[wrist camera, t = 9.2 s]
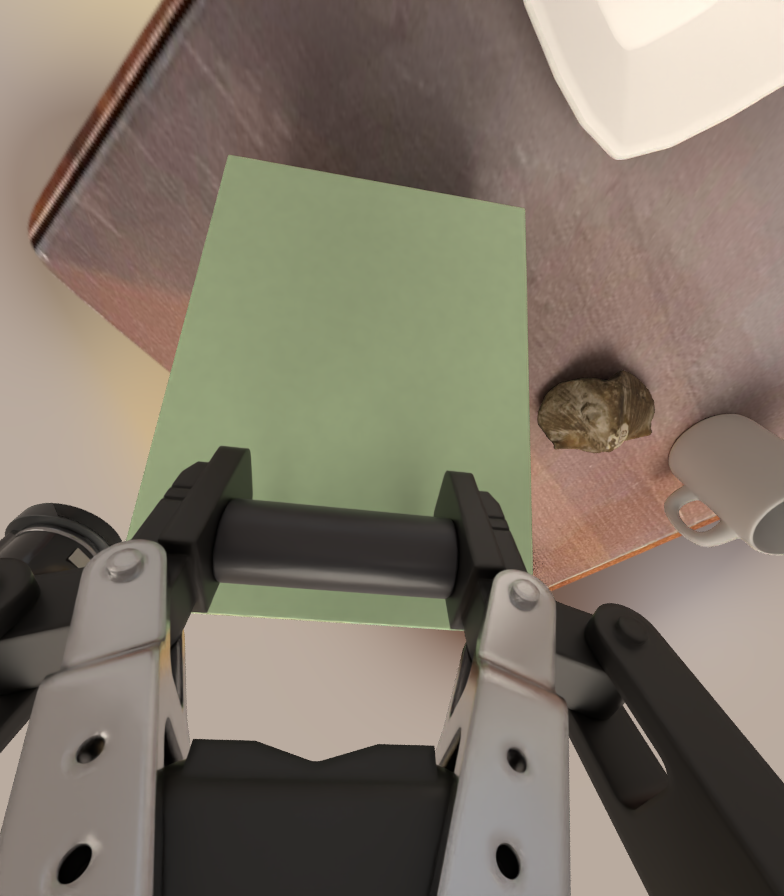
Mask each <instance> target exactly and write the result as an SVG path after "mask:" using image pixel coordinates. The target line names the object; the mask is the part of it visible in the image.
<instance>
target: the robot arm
mask: <svg viewBox="0 0 784 896" xmlns="http://www.w3.org/2000/svg"><path fill="white" fill-rule="evenodd" d="M235 498H243V499H252V498H253V485H252V465H251V452H250V450H249V449H248V448H239V447H230V446H220V447H219V448H218V449H217V451H216V452H215V453H214V455H213V456H212V458H211V459H210V461H209V462H200V461H198V462H196V463H194V464H193V465H191V466H190V467H188V468H187V469H185V470H183V471H182V472H181V473H180V474H179V476H178V477H177V478H176V480H175V481H174V483H173V484H172V487H170V488H169V489H168V491H167V492H166V493H165V495H164V498H163V499H161V500H160V501H159V503H158V504H157V505H156V507H155V508H154V509H153V511H152V512H151V513H150V515H149V516H148V517H147V519H146V520H145V521H144V523H143V524H142V525H141V527H140V528H139V529H138V531H137V532H136V533H135V535H134V536H133V537H132V539H131V540H128V541H124V542H120V543H117V544H114V545H112V546H110V547H108V548H106V549H104V550H102V551H101V552H100V551H99V549H98V548H97V547H96V545H95V544H94V543H92V542H91V541H90V540H89V539H87V538H86V537H84V536H83V535H81V534H79V533H77V532H75V531H73V530H71V529H68V528H65V527H62V526H57V525H52V524H34V525H29V526H27V527H25V528H23V529H22V530H19V531H17V530H12V531H10V532H9V533H8V534H7V535H6V536H5V537H4V538H3V539H1V540H0V753H1V752H2V750H3V749H4V748H5V747H6V746H7V744H8V743H9V742H10V741H11V740H12V739H13V738H14V736H15V735H16V734H17V733H18V732H19V730H21V728H22V727H23V726H24V725H25V724H26V723H27V721H28V720H29V719H30V721H29V725H28V729H27V732H26V736H25V740H24V744H23V749H22V752H21V756H20V759H19V763H18V767H17V771H16V775H15V779H14V782H13V786H12V790H11V794H10V798H9V802H8V806H7V809H6V813H5V817H4V821H3V825H2V829H1V833H0V896H570V895H571V893H570V892H571V891H570V890H571V888H570V814H569V813H570V811H569V810H570V808H569V738H570V739H571V741H572V743H573V745H574V747H575V749H576V751H577V753H578V755H579V757H580V759H581V761H582V763H583V765H584V767H585V769H586V771H587V773H588V775H589V777H590V779H591V781H592V783H593V785H594V787H595V789H596V791H597V793H598V795H599V797H600V799H601V801H602V803H603V805H604V807H605V809H606V811H607V813H608V815H609V817H610V819H611V821H612V823H613V825H614V827H615V829H616V831H617V833H618V835H619V837H620V839H621V841H622V843H623V845H624V847H625V849H626V851H627V853H628V855H629V857H630V859H631V861H632V863H633V865H634V867H635V869H636V871H637V873H638V875H639V876H640V879H641V880H642V882H643V884H644V886H645V888H646V890H647V892H648V894H649V896H784V783H783V782H782V780H781V779H780V778H779V777H778V776H777V775H776V773H775V772H774V771H773V770H772V768H771V767H770V766H769V765H768V764H767V762H766V761H765V760H764V759H763V758H762V756H761V755H760V754H759V753H758V752H757V750H755V748H754V747H753V745H752V744H751V743H750V742H749V741H748V740H747V738H746V737H745V736H744V735H743V734H742V732H741V731H740V730H739V729H738V727H737V726H736V725H735V724H734V723H733V721H732V720H731V719H730V718H729V717H728V715H727V714H726V713H725V712H724V710H723V709H722V708H721V707H720V706H719V705H718V703H717V702H716V701H715V700H714V698H713V697H712V696H711V695H710V694H709V692H708V691H707V690H706V689H705V688H704V686H703V685H702V684H701V683H700V682H699V680H698V679H697V678H696V677H695V676H694V674H693V673H692V672H691V671H690V670H689V668H688V667H687V666H686V665H685V663H684V662H683V661H682V660H681V659H680V657H679V656H678V655H677V654H676V653H675V652H674V650H673V649H672V648H671V647H670V645H669V644H668V643H667V642H666V640H665V639H664V638H663V637H662V636H661V634H660V633H659V632H658V631H657V630H656V629H655V627H654V626H653V625H652V624H651V623H650V622H649V621H648V620H646V619H645V618H644V617H643V616H641V615H640V614H639V613H637V612H635V611H633V610H632V609H630V608H628V607H625V606H623V605H619V604H613V603H607V604H603V605H601V606H599V607H598V609H597V610H596V611H595V613H594V614H593V615H592V614H590V613H587V612H584V611H581V610H578V609H575V608H572V607H570V606H567V605H564V604H562V603H559V602H557V601H555V599H554V597H553V595H552V593H551V591H550V590H549V589H548V587H547V586H546V585H545V584H544V583H543V582H542V581H540V580H539V579H538V578H536V577H535V576H533V575H531V574H529V573H528V572H527V570H526V567H525V565H524V562H523V560H522V557H521V555H520V553H519V550H518V548H517V545H516V543H515V540H514V538H513V536H512V533H511V531H509V526H508V523H507V521H506V520H505V516H504V514H503V511H502V509H501V506H500V504H499V503H498V502H497V501H496V500H495V499H494V498H493V497H492V495H491V494H490V493H489V492H487V491H479V489H478V487H477V484H476V481H475V478H474V476H473V474H472V473H466V472H457V471H448V470H447V471H446V472H445V474H444V477H443V481H442V484H441V488H440V492H439V495H438V499H437V502H436V506H435V510H434V515H433V517H443V518H449V519H451V520H452V521H453V523H454V525H455V528H456V533H457V539H458V570H457V577H456V581H455V585H454V589H453V591H452V593H451V595H450V597H448V598H446V599H445V601H446V607H447V613H448V619H449V625H450V629H456V630H464V632H465V637H466V644H465V646H464V648H463V651H462V655H461V659H460V663H459V667H458V671H457V676H456V679H455V684H454V688H453V692H452V696H451V700H450V704H449V708H448V712H447V716H446V720H445V724H444V728H443V731H442V734H441V737H440V740H439V743H438V746H437V749H436V752H435V750H434V749H435V748H434V746H424V745H421V746H420V745H388V744H387V745H386V744H377V745H374V746H370V747H367V748H364V749H360V750H357V751H353V752H350V753H347V754H343V755H340V756H336V757H333V758H329V759H326V760H323V761H310V760H307V759H304V758H301V757H299V756H296V755H293V754H290V753H288V752H285V751H282V750H279V749H277V748H274V747H271V746H268V745H265V744H263V743H260V742H257V741H244V740H208V739H207V740H206V739H193V741H192V744H191V747H190V738H189V730H188V722H187V706H186V704H187V703H186V669H185V668H186V666H185V636H184V627H185V625H186V622H187V620H188V618H189V616H190V614H191V612H197V613H207V612H208V610H209V607H210V605H211V603H212V600H213V598H214V595H215V593H216V591H217V588H218V586H219V584H220V582H218V581H217V580H216V579H215V577H214V573H213V561H212V559H213V547H214V541H215V536H216V531H217V528H218V524H219V521H220V518H221V516H222V513H223V511H224V509H225V507H226V506H227V504H228V503H229V502H230V501H231V500H232V499H235ZM624 703H626V704H627V706H628V708H629V709H630V711H631V712H632V714H633V715H634V717H635V718H636V720H637V721H638V723H639V725H640V726H641V728H642V729H643V731H644V732H645V734H646V735H647V737H648V738H649V740H650V742H651V743H652V744H653V746H654V748H655V749H656V751H657V752H658V754H659V756H660V757H661V759H662V761H663V763H664V765H665V768H666V771H667V774H666V772H665V771H664V770H663V768H662V766H661V765H660V763H659V762H658V760H657V758H656V757H655V755H654V754H653V752H652V751H651V749H650V748H649V746H648V745H647V743H646V741H645V740H644V738H643V736H642V735H641V733H640V732H639V730H638V729H637V727H636V726H635V724H634V722H633V721H632V719H631V718H630V716H629V715H628V713H627V712H626V710H625V708H624V707H623V704H624Z"/></svg>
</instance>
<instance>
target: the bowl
mask: <svg viewBox="0 0 784 896" xmlns="http://www.w3.org/2000/svg"><path fill="white" fill-rule="evenodd" d="M523 2H524V6H525V8H526V11H527V13H528V16H529V18H530V20H531V23H532V25H533V28H534V30H535V33H536V35H537V37H538V40H539V42H540V45H541V47H542V50H543V52H544V54H545V57H546V59H547V62H548V64H549V66H550V69H551V71H552V74H553V76H554V79H555V81H556V82H557V84H558V86H559V88H560V90H561V91H562V93H563V95H564V97H565V99H566V100H567V102H568V104H569V106H570V108H571V109H572V111H573V113H574V115H575V117H576V119H577V120H578V122H579V124H580V125H581V126H582V127H583V129H584V130H585V131H586V132H587V133H588V134H589V135H590V136H591V137H592V138H593V139H594V140H595V141H596V142H597V143H598V144H599V145H600V146H601V147H602V149H603V150H604V151H605V152H606V153H607V154H608V155H609V156H611V157H612V158H614V159H616V160H625V159H628V158H632V157H636V156H640V155H644V154H648V153H652V152H656V151H660V150H663V149H667V148H671V147H673V146H675V145H677V144H679V143H681V142H683V141H685V140H687V139H689V138H691V137H693V136H695V135H697V134H699V133H701V132H703V131H705V130H707V129H709V128H711V127H713V126H715V125H717V124H719V123H721V122H723V121H725V120H726V119H728V118H730V117H732V116H734V115H735V114H737V113H739V112H740V111H742V110H744V109H745V108H747V107H749V106H750V105H752V104H754V103H755V102H757V101H759V100H760V99H762V98H764V97H765V96H767V95H769V94H770V93H772V92H774V91H775V90H777V89H779V88H780V87H782V86H784V0H523Z"/></svg>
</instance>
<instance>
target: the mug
mask: <svg viewBox="0 0 784 896" xmlns="http://www.w3.org/2000/svg"><path fill="white" fill-rule="evenodd" d="M668 463H669V467H670V470H671V471H672V473H673V474H674V475H675V476H676V477H677V478H678V479H679V480H680V481H681V482H682V483H683V484H684V486H682V487H681V488H679V489H678V490H676V491H675V492H673V493H672V494H671V495H670V496H669V497H668V498H667V499H666V501H665V503H664V510H665V513H666V516H667V517H668V519H669V521H670V522H671V524H672V525H673V526H674V527H675V529H676V530H677V531H678V532H679V533H680V534H682V535H683V536H684V537H685V538H687V539H688V540H689V541H691V542H693V543H694V544H697V545H699V546H703V547H714V546H718V545H721V544H724V543H727V542H729V541H732V540H734V539H737V538H740V539H742V540H743V541H745V542H746V543H747V544H748V545H749V546H750V547H752V548H753V549H755V550H756V551H758V552H760V553H763V554H768V555H784V440H783V439H781V438H780V437H778V436H777V435H775V434H773V433H772V432H770V431H769V430H767V429H765V428H764V427H762V426H761V425H759V424H758V423H756V422H755V421H753V420H751V419H749V418H747V417H745V416H742V415H738V414H721V415H716V416H713V417H710V418H707V419H705V420H703V421H700V422H699V423H697V424H695V425H693V426H692V427H691V428H689V429H688V430H687V431H685V432H684V433H683V434H682V435H681V436H680V437H679V438H678V440H677V441H676V442H675V444H674V445H673V447H672V449H671V451H670V454H669V461H668ZM695 500H700V501H701V502H703V503H704V504H705V505H707V506H708V507H709V508H710V509H711V510H712V511H713V512H714V513H715V514H716V515H717V516H718V517H719V518H720V519H721V520H720V522H719V523H718V524H717V525H716V526H715V527H713V528H712V529H710V530H708V531H705V532H697V531H694V530H692V529H691V528H689V527H688V526H687V525H686V524H685V523H684V522H683V521H682V520H681V518H680V516H679V510H680V508H681V507H682V506H683V505H685V504H687V503H689V502H691V501H695Z"/></svg>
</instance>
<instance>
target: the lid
mask: <svg viewBox="0 0 784 896" xmlns="http://www.w3.org/2000/svg"><path fill="white" fill-rule="evenodd" d="M220 446H230V447H239V448H248V449H249V450H250V452H251V465H252V485H253V498H252V499H243V498H235V499H232V500H231V501H230V502H229V503H228V504H227V506H226V507H225V509H224V511H223V513H222V516H221V518H220V521H219V524H218V528H217V531H216V536H215V541H214V547H213V559H212V561H213V573H214V577H215V579H216V580H217V581H218V582H220V584H219V586H218V588H217V591H216V593H215V595H214V598H213V600H212V603H211V605H210V607H209V610H208V612H207V613H197V612H191V613H197V614H212V615H227V616H243V617H258V618H275V619H291V620H305V621H320V622H336V623H351V624H366V625H381V626H397V627H412V628H428V629H445V630H456V629H450V625H449V619H448V613H447V607H446V601H445V599H446V598H448V597H450V595H451V593H452V591H453V589H454V585H455V581H456V577H457V570H458V539H457V533H456V528H455V525H454V523H453V521H452V520H451V519H449V518H443V517H433V515H434V510H435V506H436V502H437V499H438V495H439V492H440V488H441V484H442V481H443V477H444V474H445V472H446V471H447V470H448V471H457V472H466V473H472V474H473V476H474V478H475V481H476V484H477V487H478V489H479V491H487V492H489V493H490V494H491V495H492V497H493V498H494V499H495V500H496V501H497V502H498V503H499V504H500V506H501V509H502V511H503V514H504V516H505V520H506V521H507V523H508V526H509V531H511V533H512V536H513V538H514V540H515V543H516V545H517V548H518V550H519V553H520V555H521V557H522V560H523V562H524V565H525V567H526V570H527V572H528V573H529V574H531V575H533V556H532V509H531V462H530V415H529V369H528V322H527V275H526V228H525V209H524V208H520V207H515V206H509V205H504V204H498V203H493V202H487V201H482V200H476V199H471V198H465V197H460V196H454V195H449V194H443V193H438V192H432V191H427V190H421V189H415V188H410V187H404V186H399V185H393V184H388V183H382V182H377V181H371V180H366V179H360V178H355V177H349V176H344V175H338V174H333V173H327V172H322V171H316V170H311V169H305V168H300V167H294V166H289V165H283V164H278V163H272V162H267V161H261V160H256V159H250V158H245V157H239V156H234V155H228V158H227V162H226V166H225V170H224V173H223V177H222V181H221V185H220V188H219V192H218V196H217V200H216V204H215V207H214V211H213V215H212V219H211V222H210V226H209V230H208V234H207V237H206V241H205V245H204V249H203V252H202V256H201V260H200V264H199V268H198V271H197V275H196V279H195V283H194V286H193V290H192V294H191V298H190V301H189V305H188V309H187V313H186V316H185V320H184V324H183V328H182V332H181V335H180V339H179V343H178V347H177V350H176V354H175V358H174V362H173V365H172V369H171V373H170V377H169V380H168V384H167V388H166V392H165V396H164V399H163V403H162V407H161V411H160V414H159V418H158V422H157V426H156V430H155V434H154V437H153V441H152V445H151V448H150V452H149V456H148V460H147V464H146V467H145V471H144V475H143V479H142V482H141V486H140V490H139V493H138V498H137V501H136V505H135V509H134V512H133V516H132V520H131V524H130V527H129V531H128V535H127V539H126V541H128V540H131V539H132V537H133V536H134V535H135V533H136V532H137V531H138V529H139V528H140V527H141V525H142V524H143V523H144V521H145V520H146V519H147V517H148V516H149V515H150V513H151V512H152V511H153V509H154V508H155V507H156V505H157V504H158V503H159V501H160V500H161V499H163V498H164V495H165V493H166V492H167V491H168V489H169V488H170V487H172V484H173V483H174V481H175V480H176V478H177V477H178V476H179V474H180V473H181V472H182V471H183V470H185V469H187V468H188V467H190V466H191V465H193V464H194V463H196V462H198V461H200V462H209V461H210V459H211V458H212V456H213V455H214V453H215V452H216V451H217V449H218V448H219V447H220ZM459 631H464V630H459Z"/></svg>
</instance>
